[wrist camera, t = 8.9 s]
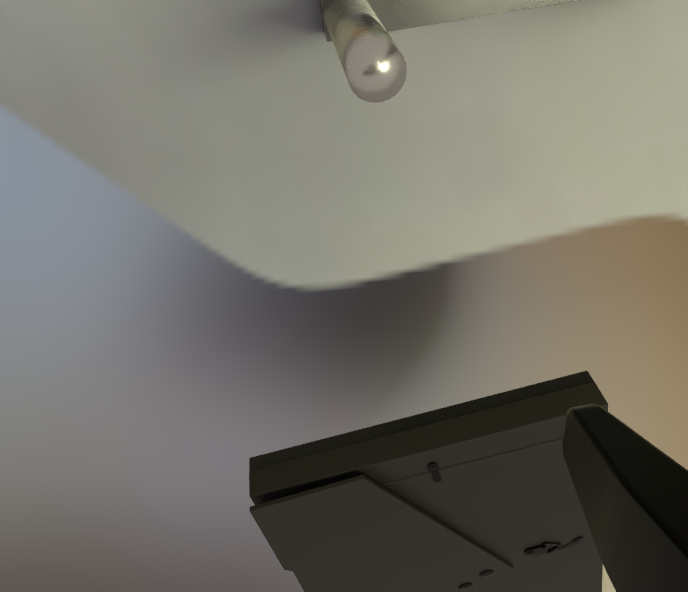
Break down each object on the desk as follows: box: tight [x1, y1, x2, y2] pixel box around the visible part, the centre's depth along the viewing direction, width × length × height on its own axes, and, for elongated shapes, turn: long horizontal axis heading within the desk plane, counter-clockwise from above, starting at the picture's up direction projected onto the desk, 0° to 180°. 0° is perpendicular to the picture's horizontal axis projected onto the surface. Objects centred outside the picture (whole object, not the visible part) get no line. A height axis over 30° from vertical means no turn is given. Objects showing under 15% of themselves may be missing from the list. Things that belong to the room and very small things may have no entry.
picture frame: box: [249, 371, 608, 592], centre depth 34 cm, size 16×3×21 cm
